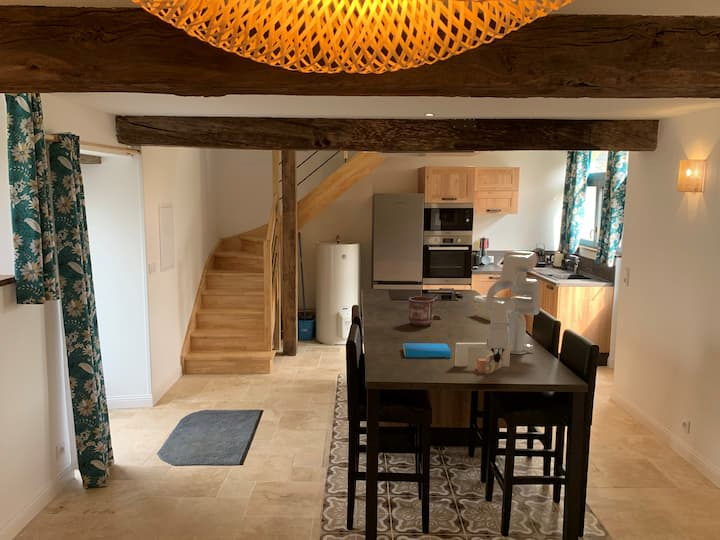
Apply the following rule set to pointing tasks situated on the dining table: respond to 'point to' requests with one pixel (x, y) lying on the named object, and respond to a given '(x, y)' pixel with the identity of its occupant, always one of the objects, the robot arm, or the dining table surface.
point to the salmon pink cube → (481, 364)
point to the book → (426, 350)
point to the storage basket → (482, 307)
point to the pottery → (421, 311)
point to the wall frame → (462, 348)
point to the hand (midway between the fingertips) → (496, 361)
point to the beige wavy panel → (493, 363)
